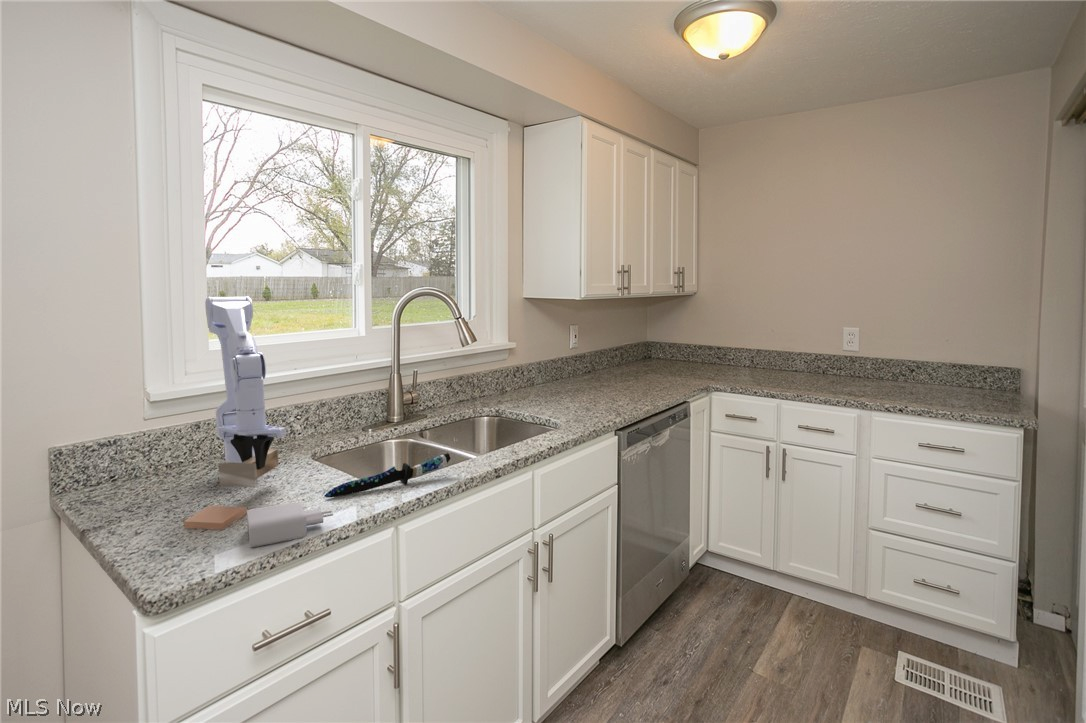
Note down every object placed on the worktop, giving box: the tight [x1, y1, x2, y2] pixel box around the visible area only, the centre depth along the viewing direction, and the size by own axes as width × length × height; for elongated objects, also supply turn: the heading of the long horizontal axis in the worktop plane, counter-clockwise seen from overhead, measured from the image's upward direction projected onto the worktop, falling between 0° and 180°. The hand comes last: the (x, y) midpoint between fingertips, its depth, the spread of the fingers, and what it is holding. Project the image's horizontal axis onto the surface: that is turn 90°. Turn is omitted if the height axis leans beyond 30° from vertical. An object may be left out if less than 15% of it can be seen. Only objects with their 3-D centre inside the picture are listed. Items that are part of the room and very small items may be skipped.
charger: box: [246, 501, 334, 549], centre depth 112 cm, size 5×9×15 cm
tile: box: [183, 505, 248, 530], centre depth 117 cm, size 2×8×8 cm
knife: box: [324, 453, 451, 499], centre depth 137 cm, size 31×3×4 cm, turn 120°
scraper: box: [217, 448, 279, 488], centre depth 131 cm, size 14×8×5 cm, turn 174°
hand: (254, 467), depth 130 cm, fingers closed on scraper, 2 cm apart
